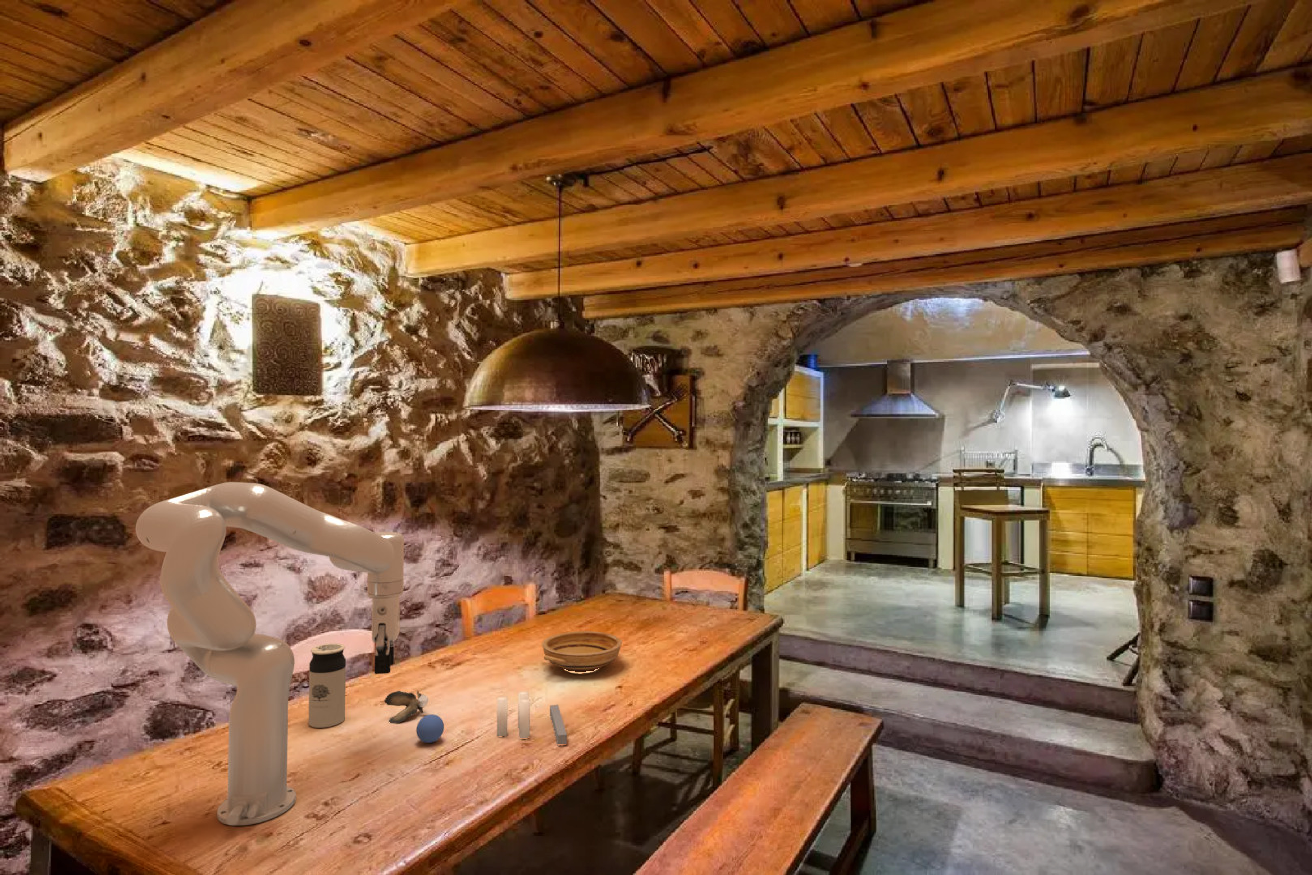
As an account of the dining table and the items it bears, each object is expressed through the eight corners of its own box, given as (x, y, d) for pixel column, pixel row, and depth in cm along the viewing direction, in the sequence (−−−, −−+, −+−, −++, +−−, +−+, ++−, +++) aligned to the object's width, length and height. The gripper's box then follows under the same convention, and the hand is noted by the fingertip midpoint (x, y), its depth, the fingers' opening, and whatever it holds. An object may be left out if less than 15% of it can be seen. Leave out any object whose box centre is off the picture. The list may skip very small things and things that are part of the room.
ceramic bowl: (583, 649, 226) (584, 625, 226) (642, 663, 212) (642, 637, 212) (517, 673, 201) (518, 646, 201) (579, 691, 188) (579, 661, 188)
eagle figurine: (411, 702, 175) (378, 705, 168) (423, 681, 174) (392, 684, 167) (422, 725, 171) (389, 730, 164) (435, 704, 169) (403, 708, 162)
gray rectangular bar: (566, 745, 154) (566, 734, 154) (557, 746, 153) (557, 735, 153) (557, 714, 171) (558, 704, 171) (549, 715, 170) (550, 705, 170)
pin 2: (530, 739, 157) (530, 702, 157) (519, 740, 156) (519, 702, 156) (529, 734, 159) (529, 698, 159) (518, 735, 158) (519, 699, 158)
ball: (443, 746, 153) (443, 719, 153) (414, 748, 151) (415, 721, 151) (444, 734, 158) (444, 709, 158) (417, 737, 157) (417, 711, 157)
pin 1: (528, 730, 162) (529, 694, 162) (518, 731, 161) (518, 695, 161) (527, 726, 164) (528, 690, 164) (517, 726, 163) (518, 691, 163)
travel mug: (325, 713, 170) (326, 641, 170) (352, 717, 168) (353, 644, 168) (300, 726, 162) (301, 651, 162) (328, 730, 160) (330, 654, 160)
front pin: (507, 736, 158) (507, 699, 158) (496, 737, 157) (497, 700, 157) (507, 732, 160) (507, 696, 160) (496, 733, 160) (497, 697, 160)
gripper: (398, 595, 145) (397, 680, 145) (407, 579, 162) (406, 656, 162) (361, 597, 143) (359, 683, 143) (373, 581, 160) (372, 658, 160)
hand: (384, 668), depth 152 cm, fingers open, 5 cm apart
